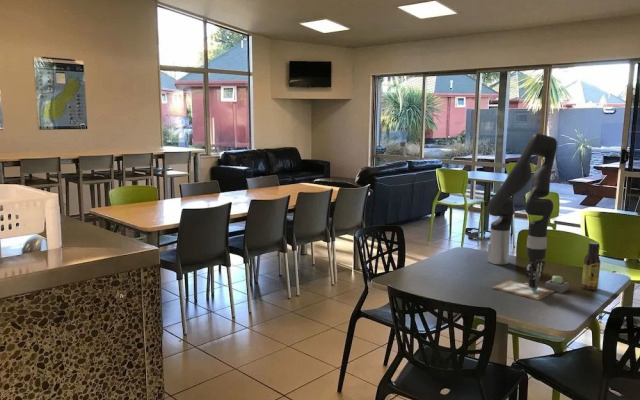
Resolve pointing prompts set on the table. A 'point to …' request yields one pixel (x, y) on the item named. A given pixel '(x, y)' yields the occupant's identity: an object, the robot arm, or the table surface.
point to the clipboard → (523, 290)
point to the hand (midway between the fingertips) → (533, 286)
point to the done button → (557, 279)
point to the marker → (536, 281)
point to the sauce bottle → (591, 267)
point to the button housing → (557, 286)
